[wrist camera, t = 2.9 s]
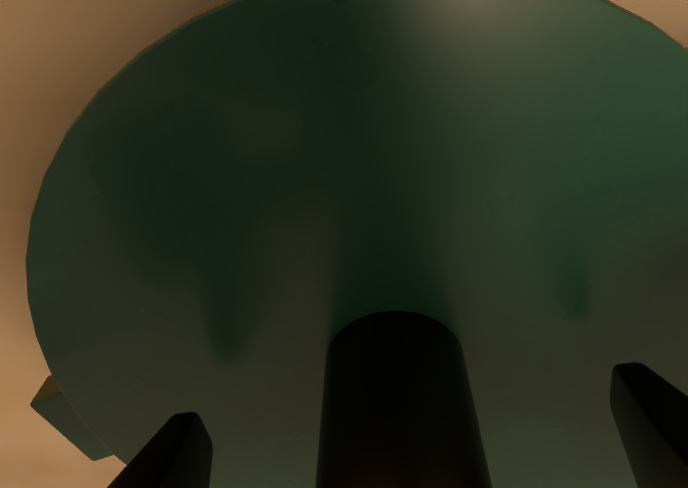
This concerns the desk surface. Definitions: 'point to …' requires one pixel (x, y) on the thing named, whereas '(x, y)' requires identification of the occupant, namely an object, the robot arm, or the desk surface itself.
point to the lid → (374, 241)
